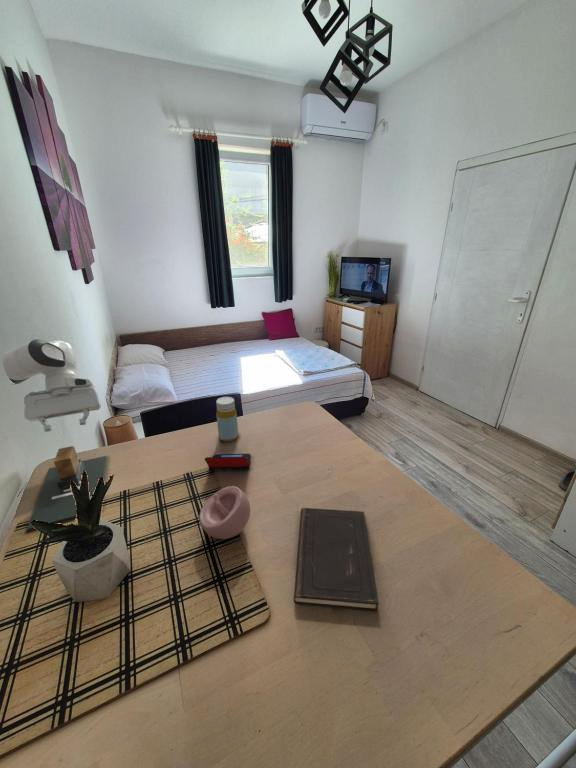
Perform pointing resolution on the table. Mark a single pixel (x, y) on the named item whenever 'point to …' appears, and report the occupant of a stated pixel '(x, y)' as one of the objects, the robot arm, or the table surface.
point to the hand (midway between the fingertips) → (65, 427)
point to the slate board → (64, 494)
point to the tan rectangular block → (68, 466)
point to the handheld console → (228, 462)
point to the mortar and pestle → (225, 513)
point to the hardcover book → (334, 561)
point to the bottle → (226, 419)
